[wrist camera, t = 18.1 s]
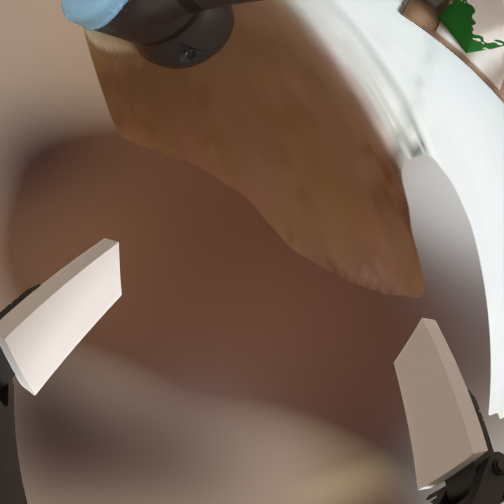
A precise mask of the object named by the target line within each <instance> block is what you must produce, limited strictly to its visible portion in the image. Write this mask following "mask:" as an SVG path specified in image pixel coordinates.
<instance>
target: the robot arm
mask: <svg viewBox="0 0 504 504" xmlns="http://www.w3.org/2000/svg"><path fill="white" fill-rule="evenodd" d="M253 1H260V0H61V6H62V10H63V13H64V15H65V16H66V18H67V19H69V20H70V21H72V22H74V23H77V24H79V25H82V26H83V27H85V28H86V29H88V30H95V31H99V32H102V33H105V34H109V35H112V36H115V37H118V38H121V39H124V40H127V41H130V42H133V43H135V45H136V46H137V48H138V49H139V51H140V52H141V53H142V55H143V56H144V57H145V58H147V59H148V60H149V61H151V62H153V63H155V64H157V65H160V66H163V67H166V68H173V69H180V68H187V67H191V66H194V65H197V64H199V63H202V62H204V61H205V60H207V59H209V58H210V57H212V56H213V55H214V54H215V53H217V52H218V51H219V50H220V49H221V48H222V47H223V45H224V44H225V43H226V41H227V40H228V38H229V36H230V34H231V32H232V29H233V24H234V13H233V9H232V7H231V5H233V4H239V3H246V2H253ZM121 295H122V294H121V281H120V264H119V242H116V241H113V240H109V239H106V238H104V239H103V240H102V241H100V242H99V243H97V244H96V245H94V246H93V247H91V248H90V249H89V250H87V251H86V252H84V253H83V254H82V255H80V256H79V257H77V258H76V259H75V260H73V261H72V262H71V263H69V264H68V265H67V266H65V267H64V268H63V269H62V270H60V271H59V272H58V273H56V274H55V275H53V276H52V277H51V278H50V279H48V280H47V281H46V282H45V283H43V284H42V285H40V284H39V285H36V286H34V287H32V288H30V289H28V290H26V291H25V292H24V293H23V294H21V295H20V296H19V298H17V299H15V300H14V301H13V302H12V304H9V305H8V306H7V307H6V308H5V309H4V310H2V311H1V312H0V504H27V500H26V496H25V492H24V487H23V483H22V478H21V472H20V466H19V460H18V453H17V444H16V435H15V420H14V385H13V381H12V378H13V377H14V376H15V375H16V377H17V379H18V381H19V382H20V384H21V385H22V386H23V387H24V388H26V389H27V390H28V391H30V392H31V393H32V394H34V395H36V394H37V393H38V391H39V390H40V389H41V387H42V386H43V385H44V384H45V382H46V381H47V380H48V379H49V377H50V376H51V375H52V374H53V372H54V371H55V370H56V369H57V368H58V366H59V365H60V364H61V363H62V362H63V360H64V359H65V358H66V357H67V356H68V354H69V353H70V352H71V351H72V350H73V349H74V347H75V346H76V345H77V344H78V343H79V342H80V340H81V339H82V338H83V337H84V336H85V335H86V333H87V332H88V331H89V330H90V329H91V328H92V327H93V326H94V325H95V323H96V322H97V321H98V320H99V319H100V318H101V317H102V316H103V315H104V313H105V312H106V311H107V310H108V309H109V308H110V307H111V306H112V305H113V303H114V302H116V300H117V299H118V298H119V297H120V296H121ZM394 366H395V369H396V373H397V377H398V381H399V385H400V390H401V394H402V398H403V403H404V407H405V412H406V417H407V422H408V427H409V432H410V438H411V443H412V449H413V455H414V463H415V470H416V478H417V487H418V490H422V489H428V488H433V487H435V486H437V485H439V484H440V483H442V482H444V481H445V483H446V486H445V487H443V488H441V489H440V490H438V491H436V492H434V493H432V494H431V495H429V496H428V497H427V498H426V499H427V500H429V499H431V498H433V497H435V496H437V497H436V498H435V499H433V500H432V501H431V503H433V504H502V503H503V502H504V454H502V453H500V452H494V451H493V448H492V445H491V442H490V438H489V435H488V432H487V429H486V426H485V423H484V421H483V420H482V419H483V417H482V415H481V412H479V411H480V409H479V407H478V404H477V401H476V399H475V397H474V396H473V395H472V393H471V392H470V391H469V390H467V387H466V385H465V383H464V381H463V378H462V375H461V373H460V371H459V369H458V366H457V364H456V362H455V360H454V357H453V355H452V353H451V351H450V349H449V347H448V345H447V343H446V340H445V338H444V336H443V334H442V333H441V331H440V328H439V327H438V325H437V323H436V321H435V320H432V319H427V318H422V319H421V321H420V322H419V324H418V326H417V327H416V329H415V331H414V332H413V334H412V335H411V337H410V339H409V340H408V342H407V343H406V345H405V347H404V348H403V350H402V351H401V353H400V354H399V356H398V357H397V359H396V360H395V361H394Z"/></svg>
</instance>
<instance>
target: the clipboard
mask: <svg viewBox="0 0 504 504" xmlns="http://www.w3.org/2000/svg"><path fill="white" fill-rule="evenodd" d="M451 1H452V0H409V2H408V4H407V6H406V7H405V9H404V11H403V13H402V15H403V16H404V17H406V18H407V19H409V20H410V21H412V22H413V23H415V24H416V25H418V26H419V27H421V28H422V29H423V30H425V31H426V32H428V33H429V34H430V35H432V36H433V37H434V38H436V39H437V40H438V41H439V42H441V43H442V44H443V45H444V46H446V47H447V48H448V49H449V50H451V51H452V52H453V53H454V54H455V55H456V56H458V57H459V58H460V59H461V60H462V61H463V62H464V63H465V64H467V65H468V66H469V67H470V68H471V69H472V70H473V71H474V72H475V73H476V74H477V75H478V76H479V77H480V78H481V79H482V80H483V81H484V82H485V83H486V84H487V85H488V86H489V87H490V88H491V89H492V90H493V91H494V92H495V94H496V95H497V96H498V97H499V98H500V99H501V100H502V101H503V103H504V46H501V47H498V48H494V49H489V50H483V51H477V52H471V53H466V52H465V51H464V50H463V48H462V47H461V45H460V44H459V43H458V41H457V40H456V39H455V37H454V36H453V35H452V34H451V32H450V31H449V30H448V29H447V27H446V26H445V25H444V24H443V22H442V21H441V20H440V19H439V18H438V15H439V14H440V13H441V12H442V11H443V10H444V9H445V8H446V7H447V6H448V5H449V4H450V2H451Z"/></svg>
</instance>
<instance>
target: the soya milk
mask: <svg viewBox="0 0 504 504" xmlns="http://www.w3.org/2000/svg"><path fill="white" fill-rule="evenodd" d="M438 18H439V19H440V20H441V21H442V22H443V24H444V25H445V26H446V27H447V29H448V30H449V31H450V32H451V34H452V35H453V36H454V37H455V39H456V40H457V41H458V43H459V44H460V45H461V47H462V48H463V50H464V51H465V52H466V53H471V52H477V51H483V50H489V49H494V48H498V47H501V46H504V0H452V1H451V2H450V4H449V5H448V6H447V7H446V8H445V9H444V10H443V11H442V12H441V13H440V14H439V15H438Z"/></svg>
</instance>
